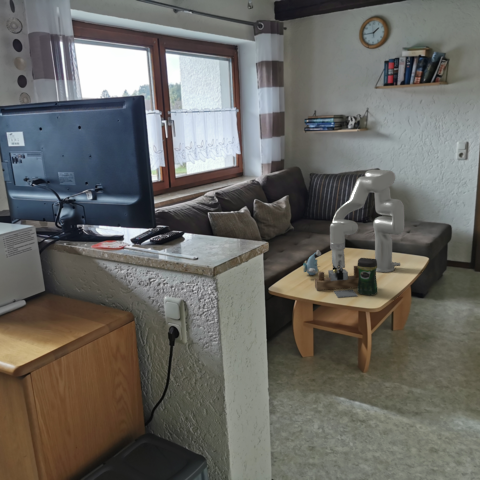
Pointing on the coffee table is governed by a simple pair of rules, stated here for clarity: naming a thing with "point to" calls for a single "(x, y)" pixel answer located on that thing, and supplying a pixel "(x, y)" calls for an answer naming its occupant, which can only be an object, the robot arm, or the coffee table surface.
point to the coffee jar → (367, 276)
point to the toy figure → (311, 264)
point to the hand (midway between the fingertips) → (337, 277)
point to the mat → (345, 293)
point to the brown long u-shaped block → (337, 282)
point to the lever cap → (334, 274)
